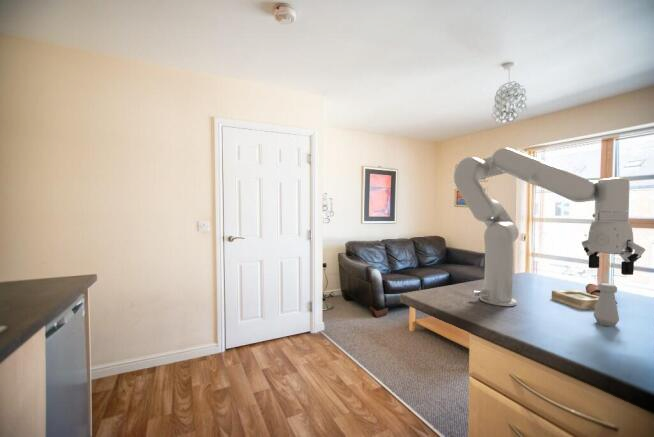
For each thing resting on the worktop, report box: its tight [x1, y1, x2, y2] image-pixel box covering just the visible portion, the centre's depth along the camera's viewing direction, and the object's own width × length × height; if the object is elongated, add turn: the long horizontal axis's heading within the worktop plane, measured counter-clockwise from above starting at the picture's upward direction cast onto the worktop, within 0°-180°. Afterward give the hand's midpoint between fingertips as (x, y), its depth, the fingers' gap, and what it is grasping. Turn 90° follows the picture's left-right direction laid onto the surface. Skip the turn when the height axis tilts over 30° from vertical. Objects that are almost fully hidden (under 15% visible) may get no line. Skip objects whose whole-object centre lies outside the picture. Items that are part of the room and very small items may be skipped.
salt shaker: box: [593, 282, 620, 328], centre depth 89 cm, size 6×6×13 cm
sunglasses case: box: [585, 283, 618, 305], centre depth 115 cm, size 18×7×7 cm
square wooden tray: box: [551, 289, 599, 310], centre depth 109 cm, size 12×12×3 cm
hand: (609, 271), depth 89 cm, fingers open, 9 cm apart
